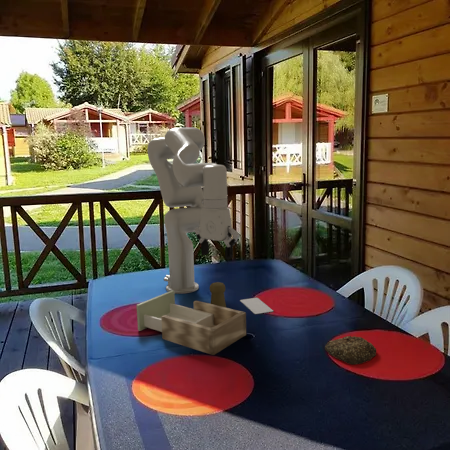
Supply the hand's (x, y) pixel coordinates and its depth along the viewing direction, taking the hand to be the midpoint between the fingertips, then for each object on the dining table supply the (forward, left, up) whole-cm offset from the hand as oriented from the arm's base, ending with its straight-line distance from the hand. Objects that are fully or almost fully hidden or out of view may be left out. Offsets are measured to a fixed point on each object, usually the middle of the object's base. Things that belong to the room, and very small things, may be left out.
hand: (217, 256), depth 154 cm
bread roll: (+47, -2, -21) cm, 51 cm away
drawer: (-4, -16, -20) cm, 26 cm away
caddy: (+7, -16, -20) cm, 27 cm away
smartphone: (+6, +14, -21) cm, 26 cm away
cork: (0, 0, -20) cm, 20 cm away
